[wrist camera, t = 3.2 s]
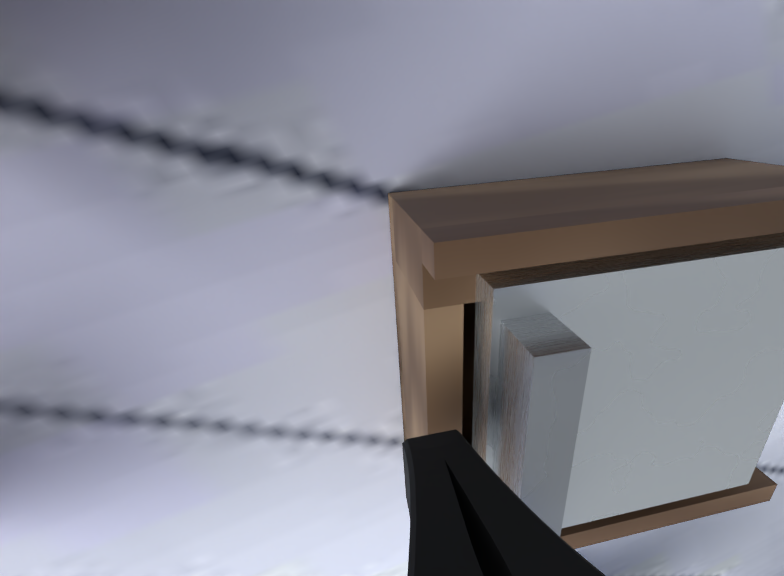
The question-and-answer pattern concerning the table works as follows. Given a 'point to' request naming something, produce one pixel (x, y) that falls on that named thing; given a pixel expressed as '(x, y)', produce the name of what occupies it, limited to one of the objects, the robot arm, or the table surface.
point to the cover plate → (629, 375)
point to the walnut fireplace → (549, 246)
